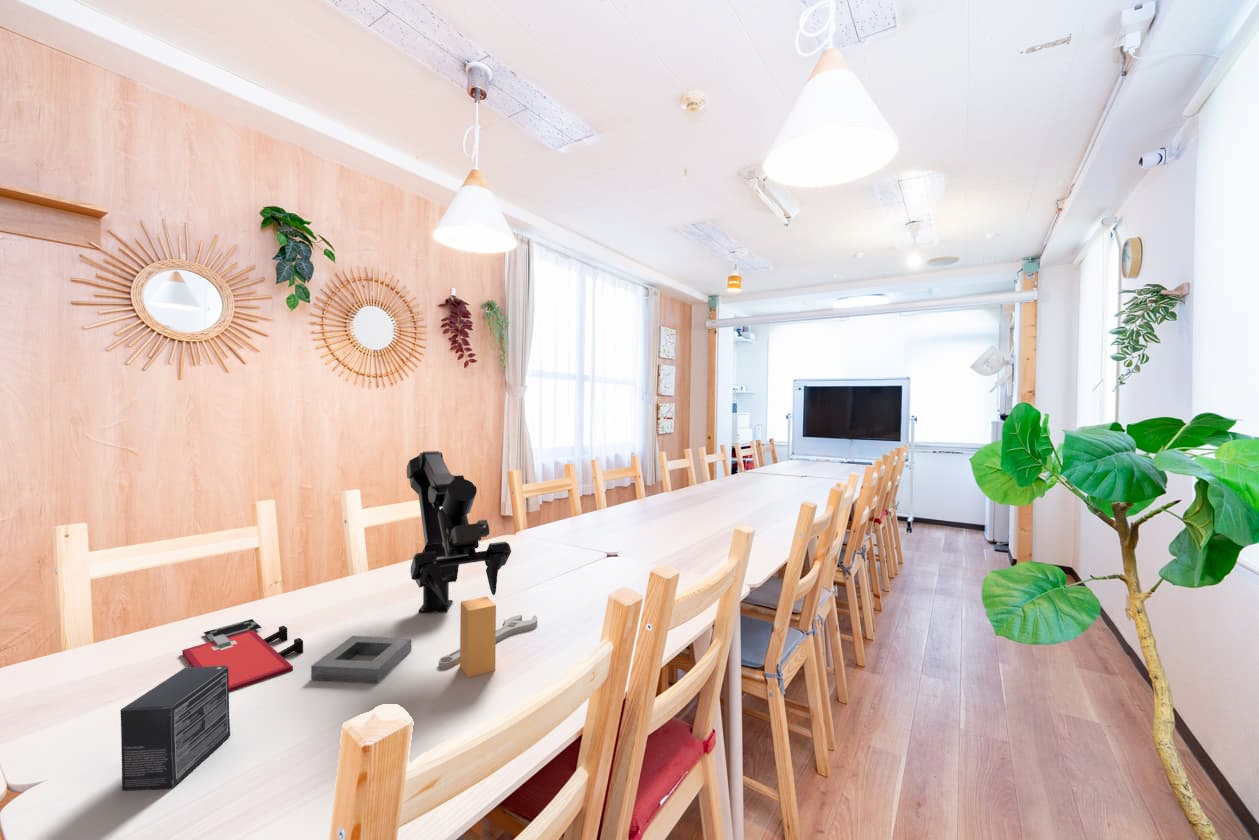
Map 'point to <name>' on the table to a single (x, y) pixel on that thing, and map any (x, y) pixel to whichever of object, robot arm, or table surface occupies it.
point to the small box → (174, 728)
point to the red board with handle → (243, 653)
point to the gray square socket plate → (347, 670)
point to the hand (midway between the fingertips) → (470, 598)
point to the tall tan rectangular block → (477, 636)
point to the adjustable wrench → (508, 628)
